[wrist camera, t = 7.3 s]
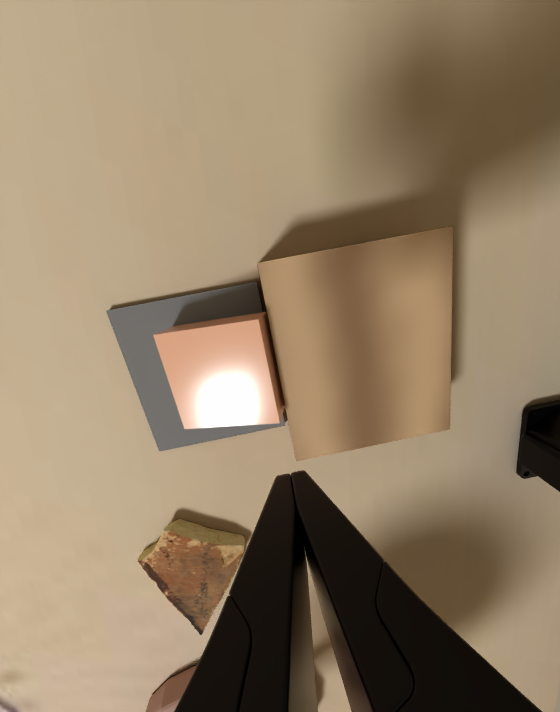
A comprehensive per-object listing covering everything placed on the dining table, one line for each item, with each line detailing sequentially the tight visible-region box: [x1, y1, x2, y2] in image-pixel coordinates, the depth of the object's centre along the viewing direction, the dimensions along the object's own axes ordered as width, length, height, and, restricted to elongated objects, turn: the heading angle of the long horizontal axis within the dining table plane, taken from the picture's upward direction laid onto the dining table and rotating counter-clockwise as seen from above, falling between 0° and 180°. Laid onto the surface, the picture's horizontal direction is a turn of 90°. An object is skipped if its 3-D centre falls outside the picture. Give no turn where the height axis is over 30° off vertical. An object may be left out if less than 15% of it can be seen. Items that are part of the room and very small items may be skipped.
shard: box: [138, 519, 245, 635], centre depth 23 cm, size 11×8×2 cm
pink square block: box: [153, 312, 285, 429], centre depth 16 cm, size 6×6×2 cm
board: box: [257, 226, 453, 461], centre depth 17 cm, size 10×12×3 cm
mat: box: [106, 282, 285, 451], centre depth 18 cm, size 9×10×1 cm
